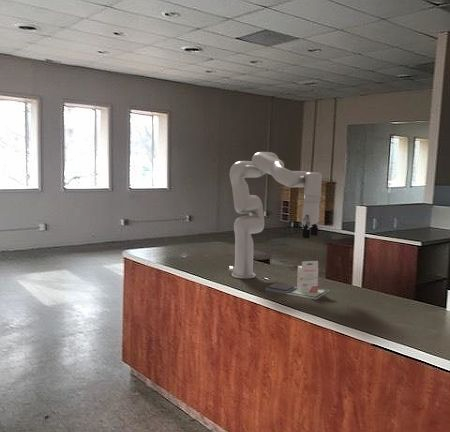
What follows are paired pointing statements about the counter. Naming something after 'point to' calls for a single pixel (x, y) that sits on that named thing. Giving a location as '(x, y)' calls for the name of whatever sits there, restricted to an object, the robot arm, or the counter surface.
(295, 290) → the marked card
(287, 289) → the ink pad
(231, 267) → the robot arm
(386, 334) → the counter surface
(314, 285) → the ink cartridge box
